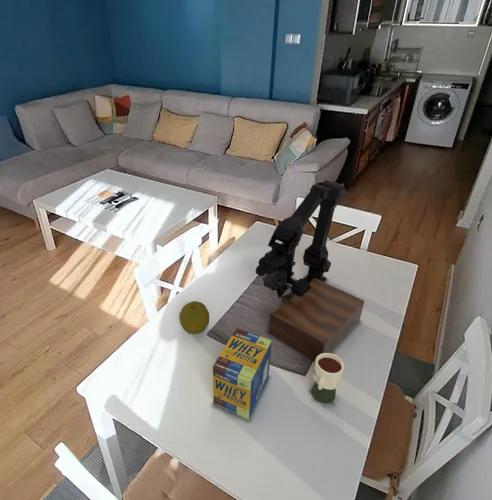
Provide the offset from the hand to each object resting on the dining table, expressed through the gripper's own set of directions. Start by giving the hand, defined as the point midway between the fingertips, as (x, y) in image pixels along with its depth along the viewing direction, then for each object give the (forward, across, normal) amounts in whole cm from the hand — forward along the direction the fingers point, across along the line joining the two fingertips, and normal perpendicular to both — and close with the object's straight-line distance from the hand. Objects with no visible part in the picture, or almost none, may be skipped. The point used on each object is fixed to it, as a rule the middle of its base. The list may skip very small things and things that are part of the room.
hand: (280, 297), depth 132 cm
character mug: (+5, +30, -21) cm, 37 cm away
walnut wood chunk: (+5, +14, 0) cm, 15 cm away
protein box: (+5, +13, -35) cm, 38 cm away
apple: (+5, -14, -27) cm, 31 cm away
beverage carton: (+5, +11, 0) cm, 12 cm away
